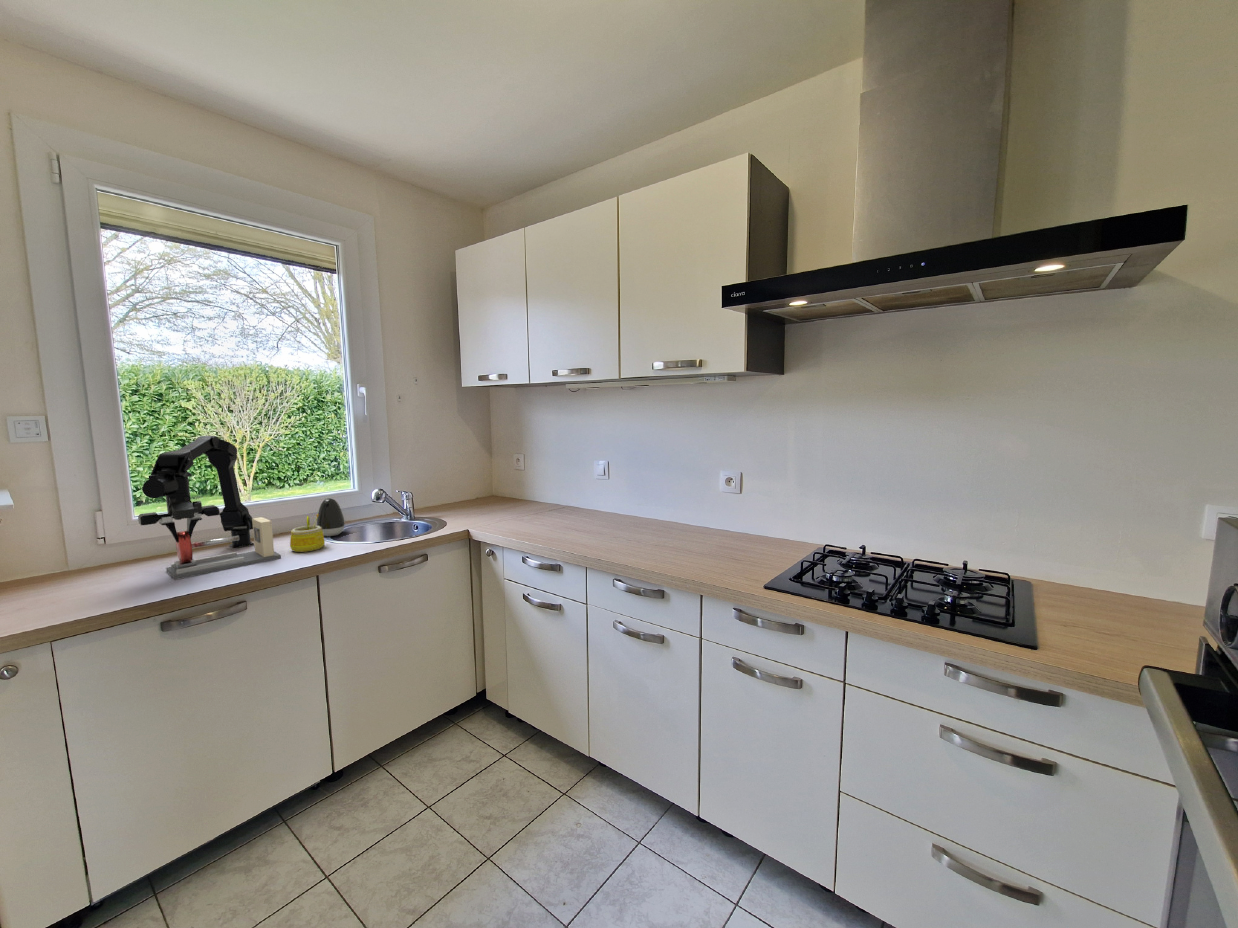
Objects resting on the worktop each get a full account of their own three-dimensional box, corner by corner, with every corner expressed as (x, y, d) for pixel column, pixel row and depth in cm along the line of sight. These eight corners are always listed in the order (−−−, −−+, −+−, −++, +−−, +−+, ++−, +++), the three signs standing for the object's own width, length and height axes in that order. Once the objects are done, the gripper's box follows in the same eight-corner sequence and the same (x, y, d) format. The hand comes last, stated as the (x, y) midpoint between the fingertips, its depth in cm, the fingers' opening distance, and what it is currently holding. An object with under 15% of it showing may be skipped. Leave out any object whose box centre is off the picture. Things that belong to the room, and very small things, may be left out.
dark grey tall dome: (313, 538, 199) (310, 501, 197) (321, 532, 209) (318, 496, 207) (341, 536, 201) (339, 499, 200) (348, 530, 211) (345, 495, 210)
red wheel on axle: (173, 566, 160) (169, 530, 159) (236, 554, 173) (233, 521, 171) (179, 572, 154) (175, 535, 152) (244, 559, 166) (241, 525, 165)
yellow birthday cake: (309, 554, 178) (306, 521, 176) (283, 552, 180) (280, 520, 178) (336, 544, 190) (334, 513, 189) (311, 543, 192) (309, 512, 191)
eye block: (166, 571, 160) (161, 530, 159) (269, 551, 181) (266, 515, 180) (174, 579, 152) (169, 537, 150) (280, 558, 173) (277, 520, 171)
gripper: (140, 500, 144) (147, 552, 146) (221, 491, 158) (226, 539, 160) (135, 495, 151) (141, 546, 153) (213, 487, 165) (217, 534, 167)
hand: (183, 541), depth 158 cm, fingers closed on red wheel on axle, 2 cm apart
